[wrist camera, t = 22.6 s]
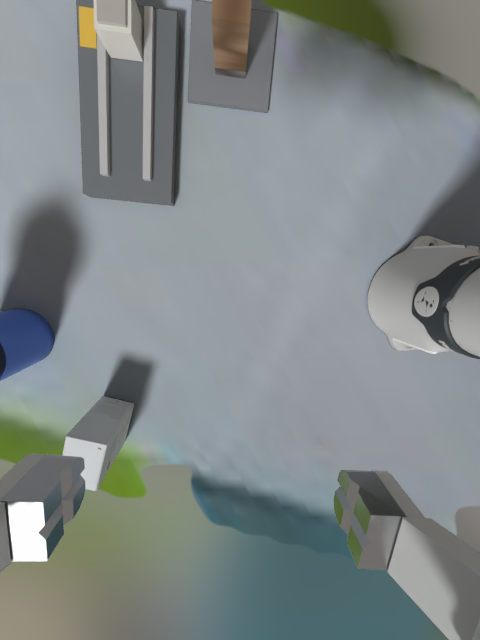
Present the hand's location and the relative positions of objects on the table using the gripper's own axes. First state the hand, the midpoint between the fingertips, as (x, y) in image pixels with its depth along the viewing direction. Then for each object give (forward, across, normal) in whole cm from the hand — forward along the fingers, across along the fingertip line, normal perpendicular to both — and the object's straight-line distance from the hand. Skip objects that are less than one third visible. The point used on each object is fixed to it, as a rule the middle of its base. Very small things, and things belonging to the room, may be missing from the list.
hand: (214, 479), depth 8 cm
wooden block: (+33, +2, -33) cm, 47 cm away
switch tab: (+32, +15, -33) cm, 48 cm away
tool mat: (+34, +2, -34) cm, 48 cm away
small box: (+34, +18, +22) cm, 44 cm away
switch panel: (+34, +15, -25) cm, 45 cm away
